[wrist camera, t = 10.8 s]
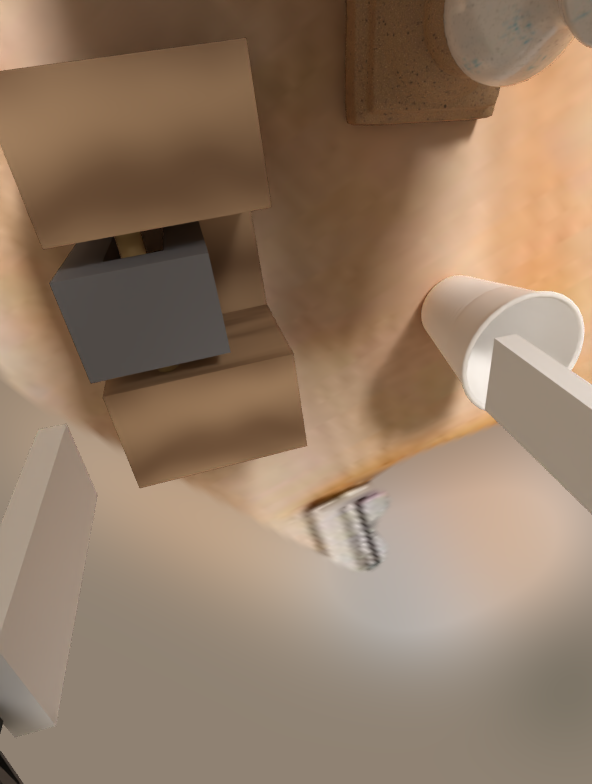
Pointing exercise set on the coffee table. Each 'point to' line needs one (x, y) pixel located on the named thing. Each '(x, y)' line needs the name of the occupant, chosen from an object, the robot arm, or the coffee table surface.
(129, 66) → the wooden block dumbbell
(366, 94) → the candle holder
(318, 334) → the coffee table surface
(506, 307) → the cup
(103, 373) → the slotted gray cube
